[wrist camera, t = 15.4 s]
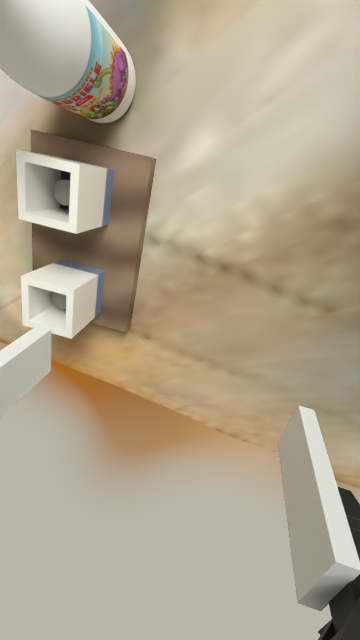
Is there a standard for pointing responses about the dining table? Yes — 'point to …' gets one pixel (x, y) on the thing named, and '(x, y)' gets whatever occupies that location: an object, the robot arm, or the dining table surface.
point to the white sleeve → (68, 280)
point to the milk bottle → (67, 56)
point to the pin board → (106, 241)
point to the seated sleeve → (85, 192)
